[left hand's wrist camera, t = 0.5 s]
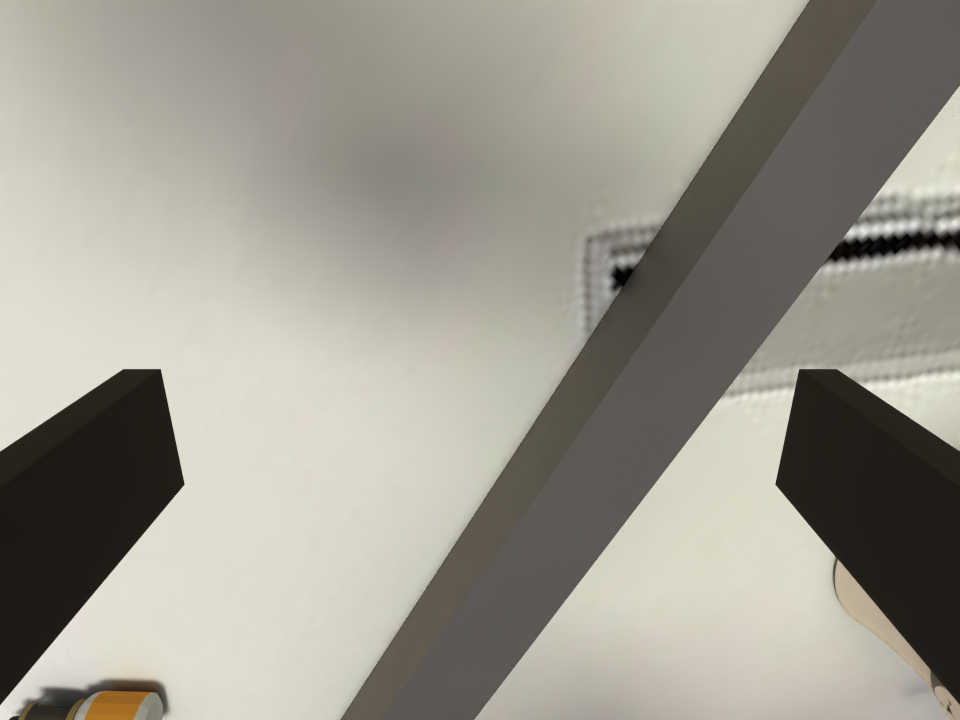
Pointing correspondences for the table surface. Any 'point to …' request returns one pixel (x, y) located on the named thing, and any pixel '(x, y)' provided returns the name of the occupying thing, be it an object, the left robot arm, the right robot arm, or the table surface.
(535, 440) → the post
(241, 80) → the table surface
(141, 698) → the spray gun
